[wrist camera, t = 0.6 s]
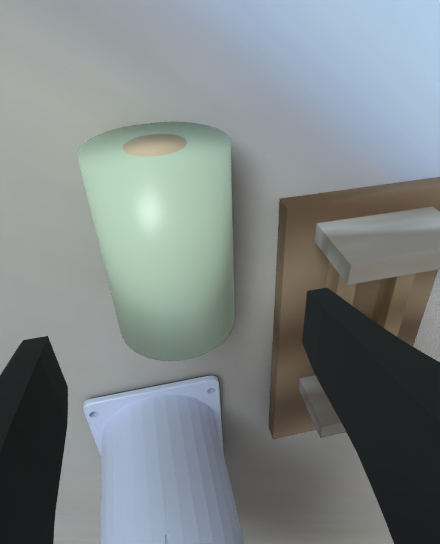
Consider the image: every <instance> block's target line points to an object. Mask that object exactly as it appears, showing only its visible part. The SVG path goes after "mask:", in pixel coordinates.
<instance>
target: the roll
mask: <svg viewBox="0 0 440 544" xmlns="http://www.w3.org/2000/svg"><path fill="white" fill-rule="evenodd" d="M77 157H78V161H79V165H80V169H81V173H82V177H83V181H84V185H85V189H86V194H87V198H88V202H89V206H90V210H91V214H92V218H93V222H94V226H95V230H96V234H97V238H98V242H99V246H100V250H101V254H102V258H103V262H104V266H105V270H106V274H107V279H108V283H109V287H110V291H111V295H112V299H113V303H114V307H115V311H116V315H117V319H118V323H119V327H120V331H121V334H122V337H123V339H124V341H125V343H126V344H127V345H128V346H129V347H130V348H131V349H132V350H134V351H135V352H137V353H138V354H140V355H142V356H145V357H148V358H151V359H155V360H161V361H180V360H187V359H191V358H195V357H198V356H201V355H203V354H205V353H207V352H209V351H211V350H213V349H214V348H216V347H217V346H219V345H220V344H221V343H222V342H223V341H224V340H225V339H226V338H227V337H228V335H229V334H230V332H231V330H232V328H233V325H234V321H235V301H234V261H233V221H232V180H231V142H230V138H229V137H228V135H227V134H226V133H224V132H223V131H221V130H219V129H216V128H214V127H211V126H207V125H202V124H196V123H187V122H160V123H150V124H141V125H132V126H127V127H122V128H118V129H115V130H111V131H108V132H105V133H103V134H100V135H98V136H96V137H94V138H92V139H90V140H88V141H87V142H86V143H84V144H83V145H82V146H81V147H80V149H79V150H78V153H77Z"/></svg>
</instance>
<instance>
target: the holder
mask: <svg viewBox="0 0 440 544" xmlns="http://www.w3.org/2000/svg"><path fill="white" fill-rule="evenodd" d="M438 269H440V177H438V178H430V179H423V180H415V181H408V182H401V183H393V184H386V185H378V186H371V187H364V188H356V189H349V190H342V191H334V192H327V193H319V194H312V195H305V196H297V197H290V198H283V199H280V207H279V227H278V248H277V268H276V288H275V309H274V329H273V350H272V370H271V390H270V411H269V429H270V432H271V435H272V438H273V439H276V438H280V437H285V436H289V435H294V434H298V433H303V432H307V431H312V430H316V429H317V431H318V433H319V435H320V438H321V437H326V436H330V435H334V434H339V433H343V432H346V430H345V428H344V427H343V425H342V423H341V421H340V419H339V418H338V416H337V414H336V412H335V410H334V409H333V407H332V405H331V403H330V401H329V399H328V398H327V396H326V394H325V392H324V390H323V388H322V387H321V385H320V383H319V381H318V379H317V377H316V375H315V374H314V371H313V369H312V366H311V364H310V362H309V359H308V356H307V354H306V351H305V349H304V346H303V343H302V337H303V327H304V317H305V307H306V297H307V291H310V290H315V289H321V288H329V289H330V290H331V291H333V292H334V293H336V294H337V295H338V296H340V297H341V298H342V299H344V300H345V301H347V302H348V303H349V304H351V305H352V306H353V307H355V308H356V309H358V310H359V311H360V312H362V313H363V314H364V315H366V316H367V317H369V318H370V319H372V320H373V321H374V322H376V323H377V324H379V325H380V326H382V327H383V328H385V329H386V330H388V331H389V332H390V333H392V334H394V335H395V336H397V337H398V338H400V339H401V340H403V341H404V342H406V343H408V344H409V345H411V346H413V344H414V341H415V338H416V335H417V332H418V329H419V326H420V323H421V320H422V317H423V314H424V311H425V308H426V305H427V302H428V299H429V296H430V293H431V290H432V286H433V283H434V280H435V277H436V274H437V271H438Z"/></svg>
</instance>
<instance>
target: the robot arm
mask: <svg viewBox="0 0 440 544" xmlns="http://www.w3.org/2000/svg"><path fill="white" fill-rule="evenodd" d="M302 343H303V346H304V349H305V351H306V354H307V356H308V359H309V362H310V364H311V366H312V369H313V371H314V374H315V375H316V377H317V379H318V381H319V383H320V385H321V387H322V388H323V390H324V392H325V394H326V396H327V398H328V399H329V401H330V403H331V405H332V407H333V409H334V410H335V412H336V414H337V416H338V418H339V419H340V421H341V423H342V425H343V427H344V428H345V430H346V432H347V434H348V436H349V437H350V439H351V441H352V443H353V445H354V447H355V449H356V451H357V453H358V456H359V458H360V460H361V463H362V465H363V467H364V470H365V472H366V474H367V477H368V479H369V481H370V484H371V486H372V488H373V491H374V493H375V496H376V498H377V501H378V503H379V506H380V508H381V511H382V513H383V516H384V518H385V521H386V523H387V526H388V528H389V531H390V534H391V536H392V539H393V542H394V544H440V362H438V361H436V360H435V359H433V358H431V357H429V356H428V355H426V354H424V353H422V352H421V351H419V350H417V349H416V348H414V347H413V346H411V345H409V344H408V343H406V342H404V341H403V340H401V339H400V338H398V337H397V336H395V335H394V334H392V333H390V332H389V331H388V330H386V329H385V328H383V327H382V326H380V325H379V324H377V323H376V322H374V321H373V320H372V319H370V318H369V317H367V316H366V315H364V314H363V313H362V312H360V311H359V310H358V309H356V308H355V307H353V306H352V305H351V304H349V303H348V302H347V301H345V300H344V299H342V298H341V297H340V296H338V295H337V294H336V293H334V292H333V291H331V290H330V289H329V288H321V289H315V290H310V291H307V297H306V307H305V317H304V327H303V337H302ZM210 388H211V389H210ZM83 410H84V413H85V416H86V418H87V421H88V424H89V426H90V429H91V432H92V434H93V437H94V440H95V442H96V445H97V448H98V450H99V453H100V456H101V513H100V544H245V542H244V538H243V534H242V530H241V525H240V521H239V517H238V513H237V509H236V504H235V500H234V496H233V492H232V488H231V483H230V479H229V475H228V471H227V466H226V462H225V458H224V454H223V439H222V423H221V407H220V391H219V381H218V378H217V377H216V376H213V375H211V376H205V377H200V378H194V379H189V380H184V381H179V382H174V383H169V384H164V385H159V386H153V387H148V388H143V389H138V390H133V391H128V392H123V393H118V394H113V395H107V396H102V397H97V398H92V399H89V400H87V401H85V402H84V405H83ZM67 415H68V387H67V384H66V381H65V379H64V376H63V374H62V371H61V369H60V366H59V364H58V361H57V359H56V356H55V354H54V351H53V348H52V346H51V343H50V341H49V338H48V336H45V337H40V338H34V339H28V340H23V342H22V343H21V344H20V346H19V347H18V349H17V350H16V352H15V353H14V355H13V356H12V358H11V360H10V361H9V363H8V364H7V366H6V367H5V369H4V370H3V372H2V373H1V375H0V544H53V538H54V521H55V510H56V502H57V495H58V488H59V481H60V474H61V467H62V459H63V452H64V445H65V437H66V430H67Z"/></svg>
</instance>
